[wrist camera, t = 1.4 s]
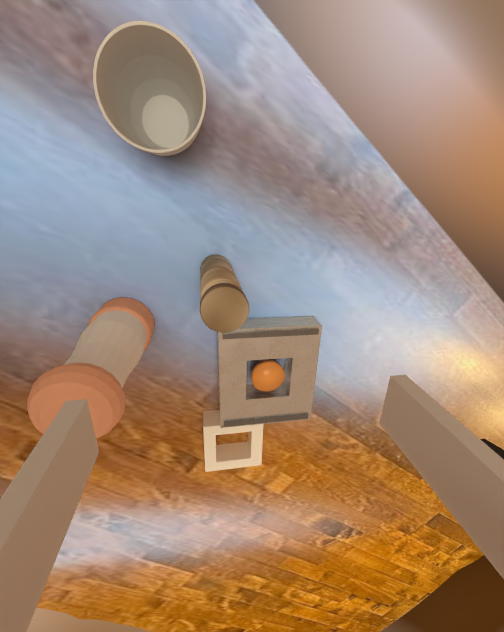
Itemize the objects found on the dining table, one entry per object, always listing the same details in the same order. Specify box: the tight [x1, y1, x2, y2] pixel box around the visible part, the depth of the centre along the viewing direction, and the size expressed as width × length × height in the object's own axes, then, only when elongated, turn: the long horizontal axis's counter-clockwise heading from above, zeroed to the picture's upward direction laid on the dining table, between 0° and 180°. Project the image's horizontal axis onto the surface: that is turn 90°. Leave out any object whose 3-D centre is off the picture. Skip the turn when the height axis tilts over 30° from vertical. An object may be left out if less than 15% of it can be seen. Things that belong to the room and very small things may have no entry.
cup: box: [93, 21, 206, 156], centre depth 26 cm, size 8×8×10 cm
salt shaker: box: [27, 297, 154, 439], centre depth 30 cm, size 7×7×19 cm
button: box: [251, 360, 285, 391], centre depth 42 cm, size 5×5×1 cm
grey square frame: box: [217, 316, 322, 428], centre depth 43 cm, size 14×16×4 cm
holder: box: [203, 410, 263, 472], centre depth 47 cm, size 9×9×4 cm
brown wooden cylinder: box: [200, 255, 249, 333], centre depth 31 cm, size 4×4×15 cm
